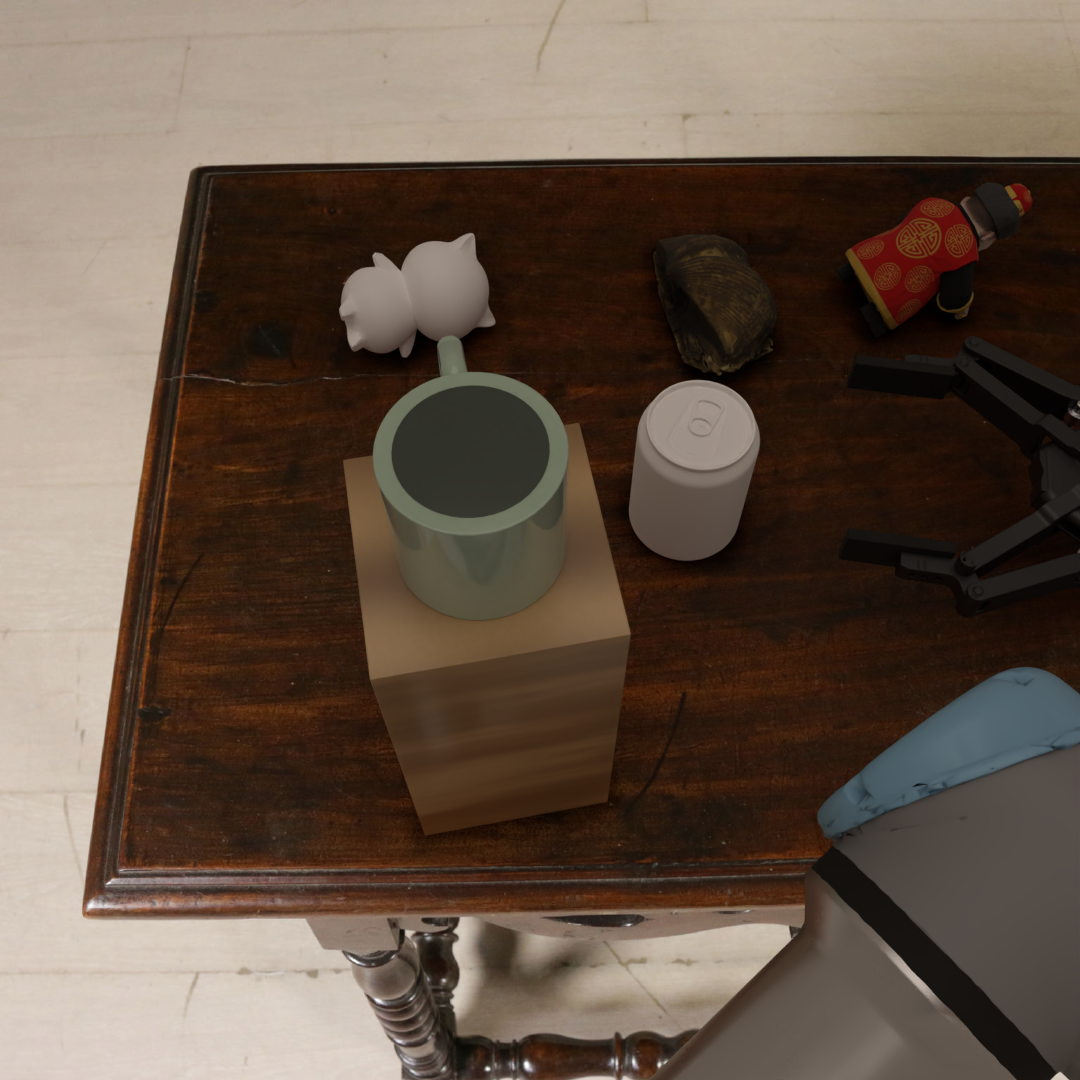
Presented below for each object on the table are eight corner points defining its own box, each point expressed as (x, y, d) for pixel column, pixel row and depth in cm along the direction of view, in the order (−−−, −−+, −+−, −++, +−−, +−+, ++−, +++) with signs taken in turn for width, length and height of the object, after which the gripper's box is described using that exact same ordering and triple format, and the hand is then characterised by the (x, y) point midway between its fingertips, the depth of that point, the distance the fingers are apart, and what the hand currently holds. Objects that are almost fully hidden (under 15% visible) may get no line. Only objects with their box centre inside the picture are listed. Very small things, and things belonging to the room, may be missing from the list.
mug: (582, 604, 54) (586, 516, 47) (406, 634, 53) (384, 549, 46) (536, 404, 60) (534, 298, 52) (377, 429, 59) (353, 325, 52)
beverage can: (611, 542, 85) (620, 451, 75) (651, 457, 89) (664, 358, 78) (716, 580, 84) (740, 493, 73) (752, 492, 87) (779, 396, 77)
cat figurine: (329, 280, 85) (484, 234, 87) (316, 248, 95) (456, 208, 96) (363, 388, 90) (511, 343, 91) (348, 348, 99) (482, 308, 100)
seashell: (623, 253, 99) (647, 188, 93) (719, 251, 101) (748, 188, 96) (681, 404, 90) (710, 343, 85) (783, 398, 93) (819, 339, 87)
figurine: (894, 372, 98) (1066, 275, 93) (873, 331, 89) (1061, 221, 85) (842, 284, 101) (1006, 186, 97) (817, 236, 93) (994, 126, 88)
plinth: (607, 802, 76) (631, 634, 53) (424, 836, 75) (369, 679, 52) (571, 636, 82) (579, 422, 59) (401, 666, 81) (342, 459, 58)
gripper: (1192, 308, 77) (866, 271, 79) (1238, 651, 65) (853, 597, 67) (1142, 377, 83) (843, 341, 85) (1175, 701, 72) (827, 650, 73)
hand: (846, 453), depth 76 cm, fingers open, 13 cm apart
